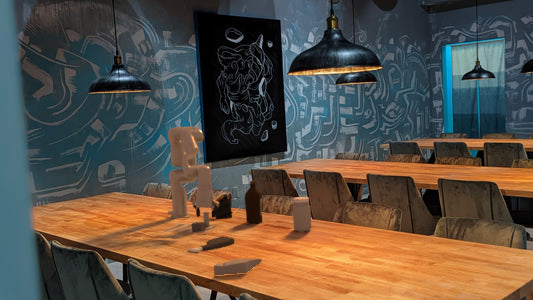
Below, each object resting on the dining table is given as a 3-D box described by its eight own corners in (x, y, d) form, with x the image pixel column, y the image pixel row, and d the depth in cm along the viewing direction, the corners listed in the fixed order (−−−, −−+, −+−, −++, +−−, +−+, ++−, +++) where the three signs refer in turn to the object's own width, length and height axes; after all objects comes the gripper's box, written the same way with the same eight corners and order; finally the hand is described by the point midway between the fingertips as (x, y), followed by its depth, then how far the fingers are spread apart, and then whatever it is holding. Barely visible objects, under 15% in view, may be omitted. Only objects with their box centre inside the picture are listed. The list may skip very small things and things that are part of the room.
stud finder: (191, 230, 308) (191, 222, 308) (196, 228, 313) (195, 220, 313) (201, 231, 306) (201, 223, 306) (205, 229, 311) (205, 221, 311)
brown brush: (236, 243, 280) (200, 255, 261) (221, 241, 287) (185, 252, 269) (236, 238, 279) (199, 249, 261) (221, 235, 287) (185, 246, 268)
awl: (202, 226, 318) (202, 213, 318) (205, 225, 322) (204, 212, 321) (208, 226, 317) (207, 213, 317) (210, 225, 320) (210, 212, 320)
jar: (310, 232, 297) (308, 199, 296) (292, 232, 299) (291, 199, 298) (312, 228, 306) (311, 196, 305) (295, 228, 308) (293, 196, 307)
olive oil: (245, 224, 325) (243, 182, 323) (245, 220, 336) (243, 180, 334) (263, 223, 326) (261, 181, 324) (263, 220, 336) (261, 179, 334)
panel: (161, 233, 312) (161, 231, 312) (178, 225, 330) (178, 223, 330) (205, 234, 302) (205, 232, 302) (220, 227, 321) (220, 225, 321)
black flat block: (236, 214, 351) (227, 194, 346) (221, 225, 344) (211, 206, 339) (233, 213, 354) (223, 193, 349) (218, 225, 347) (208, 205, 342)
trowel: (248, 259, 249) (247, 248, 248) (274, 265, 238) (274, 252, 238) (202, 275, 228) (201, 262, 227) (229, 281, 217) (228, 268, 217)
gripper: (188, 188, 317) (189, 217, 319) (215, 189, 312) (216, 218, 313) (194, 186, 324) (195, 214, 326) (221, 187, 319) (222, 216, 320)
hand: (206, 216), depth 320 cm, fingers open, 9 cm apart
